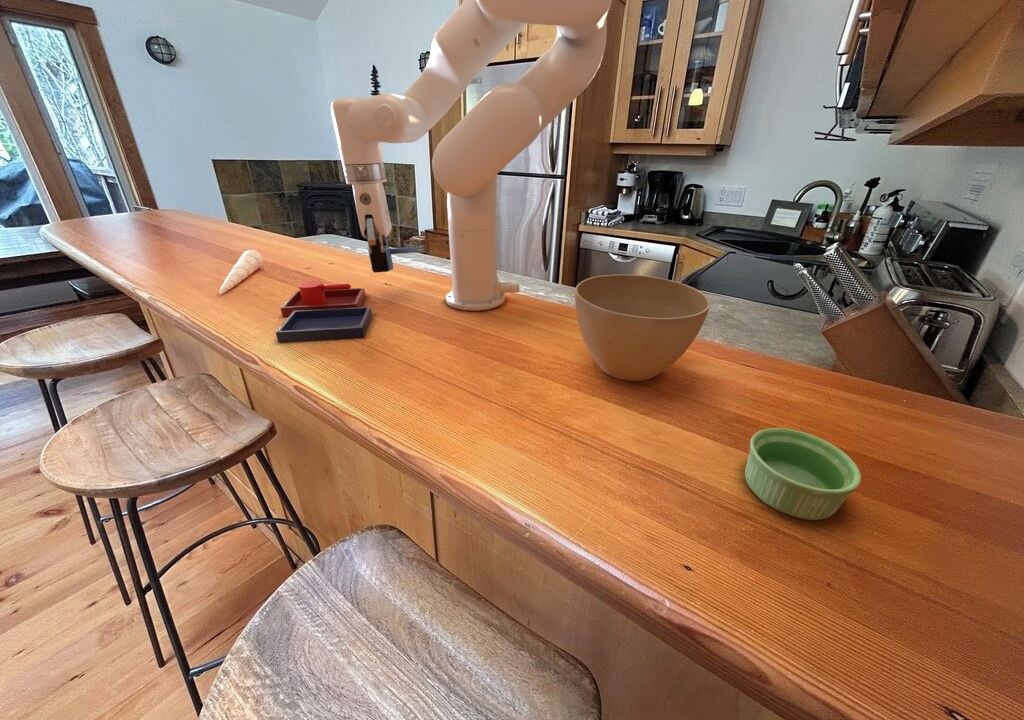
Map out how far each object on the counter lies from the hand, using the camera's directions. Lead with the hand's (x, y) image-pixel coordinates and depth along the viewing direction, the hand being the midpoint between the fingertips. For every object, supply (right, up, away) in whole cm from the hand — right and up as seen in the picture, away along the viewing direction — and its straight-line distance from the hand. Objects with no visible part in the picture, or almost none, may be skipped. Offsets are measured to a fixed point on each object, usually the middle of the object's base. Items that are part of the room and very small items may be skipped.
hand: (382, 267), depth 87 cm
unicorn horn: (-39, 0, +15) cm, 42 cm away
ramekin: (+55, -33, -46) cm, 79 cm away
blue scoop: (+3, 0, 0) cm, 3 cm away
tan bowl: (+45, -21, -24) cm, 56 cm away
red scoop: (-11, -8, -1) cm, 13 cm away
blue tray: (-6, -14, -11) cm, 19 cm away
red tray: (-11, -8, -1) cm, 14 cm away
